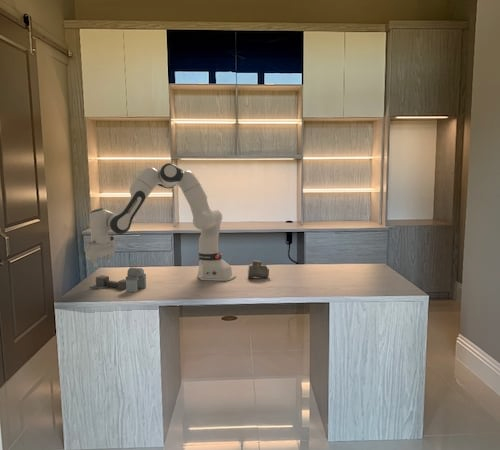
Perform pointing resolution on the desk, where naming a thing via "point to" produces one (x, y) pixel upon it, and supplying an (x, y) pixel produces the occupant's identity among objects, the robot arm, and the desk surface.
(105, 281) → the grey long block-ended bar
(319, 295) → the desk surface
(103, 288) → the pad
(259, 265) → the pipe fitting
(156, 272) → the desk surface
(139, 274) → the housing
